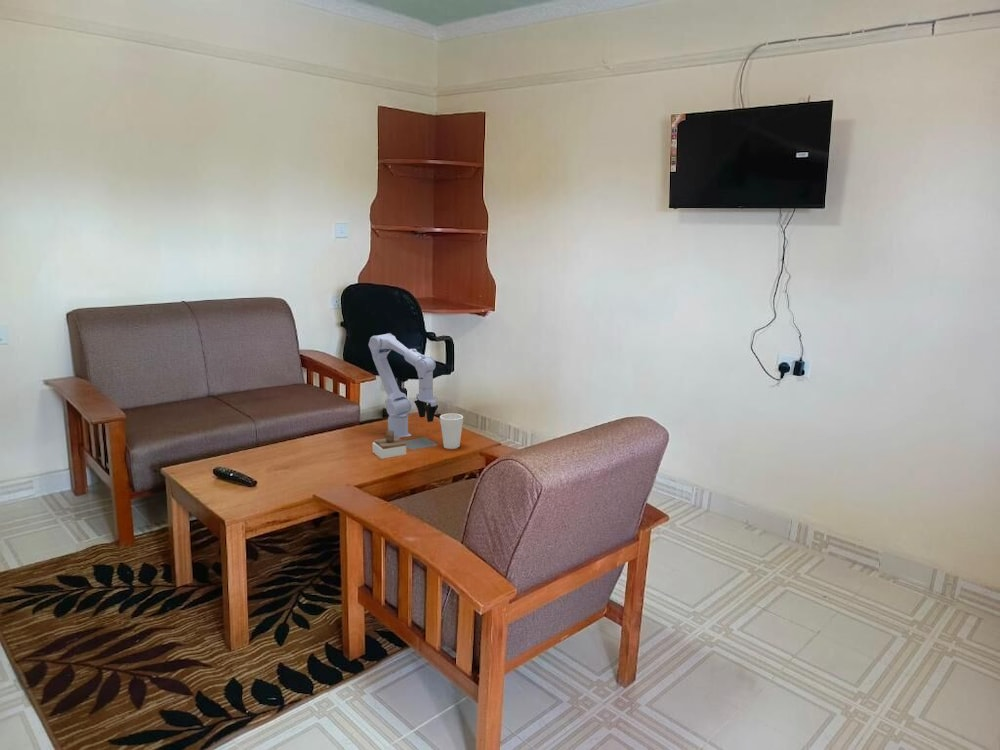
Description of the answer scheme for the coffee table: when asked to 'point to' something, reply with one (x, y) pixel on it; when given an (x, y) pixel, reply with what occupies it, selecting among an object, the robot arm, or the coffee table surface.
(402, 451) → the white open box
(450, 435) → the foam cup
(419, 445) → the mat
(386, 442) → the lid
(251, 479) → the coffee table surface
